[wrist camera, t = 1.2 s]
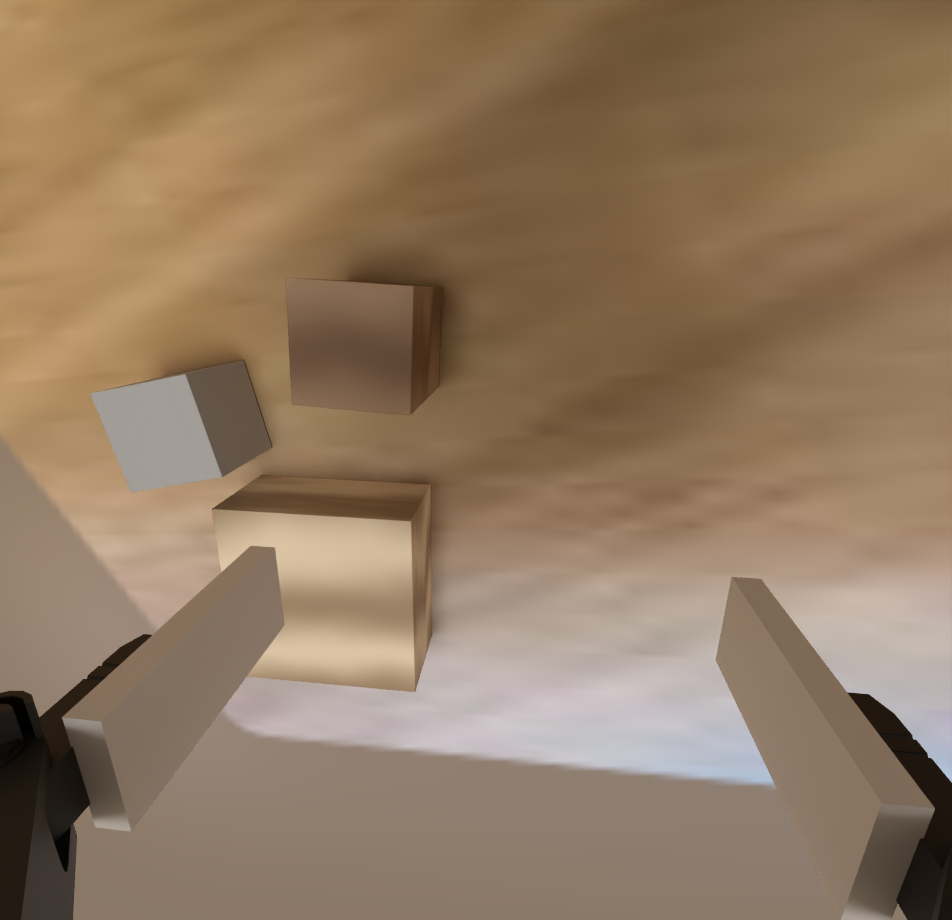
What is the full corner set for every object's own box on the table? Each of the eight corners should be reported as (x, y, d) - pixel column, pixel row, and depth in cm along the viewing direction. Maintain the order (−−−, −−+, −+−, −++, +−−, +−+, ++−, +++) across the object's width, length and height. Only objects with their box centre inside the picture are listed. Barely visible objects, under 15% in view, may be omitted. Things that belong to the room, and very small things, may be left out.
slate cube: (162, 376, 35) (90, 393, 29) (243, 360, 34) (185, 374, 28) (193, 460, 37) (131, 492, 31) (271, 447, 36) (222, 477, 30)
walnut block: (344, 280, 32) (285, 277, 24) (442, 287, 31) (413, 286, 24) (346, 379, 34) (291, 404, 26) (438, 386, 33) (410, 415, 26)
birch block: (261, 474, 37) (211, 509, 31) (430, 484, 35) (410, 521, 30) (279, 621, 40) (237, 675, 35) (432, 633, 39) (415, 691, 34)
